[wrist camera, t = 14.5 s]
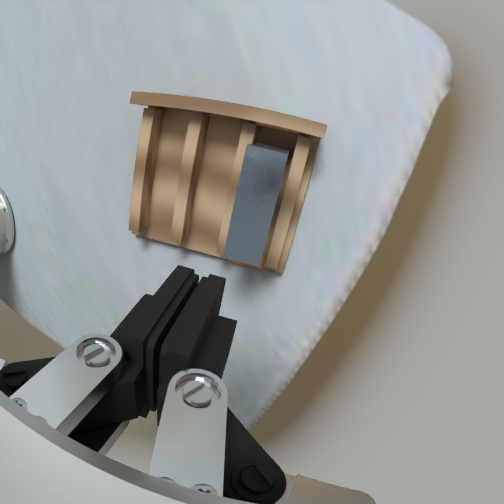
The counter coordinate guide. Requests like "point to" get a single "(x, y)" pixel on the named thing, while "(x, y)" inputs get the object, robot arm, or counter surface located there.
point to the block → (255, 202)
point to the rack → (213, 171)
